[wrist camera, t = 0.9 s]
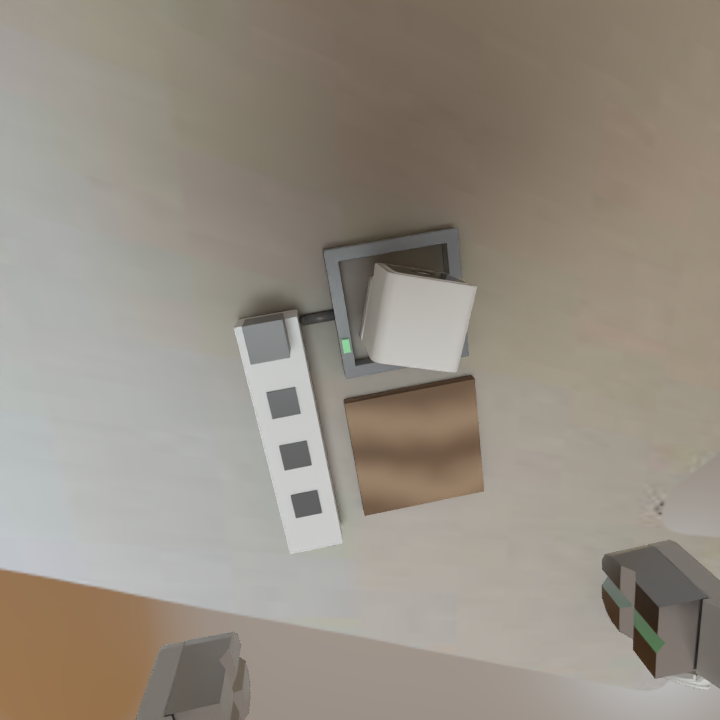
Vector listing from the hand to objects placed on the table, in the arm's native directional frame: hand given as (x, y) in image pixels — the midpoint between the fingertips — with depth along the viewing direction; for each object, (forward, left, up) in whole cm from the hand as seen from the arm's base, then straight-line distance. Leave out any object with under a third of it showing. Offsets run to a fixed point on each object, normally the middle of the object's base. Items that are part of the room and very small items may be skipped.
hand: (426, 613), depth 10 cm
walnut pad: (+14, +5, -32) cm, 36 cm away
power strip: (+10, -4, -32) cm, 34 cm away
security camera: (0, +5, -33) cm, 33 cm away
